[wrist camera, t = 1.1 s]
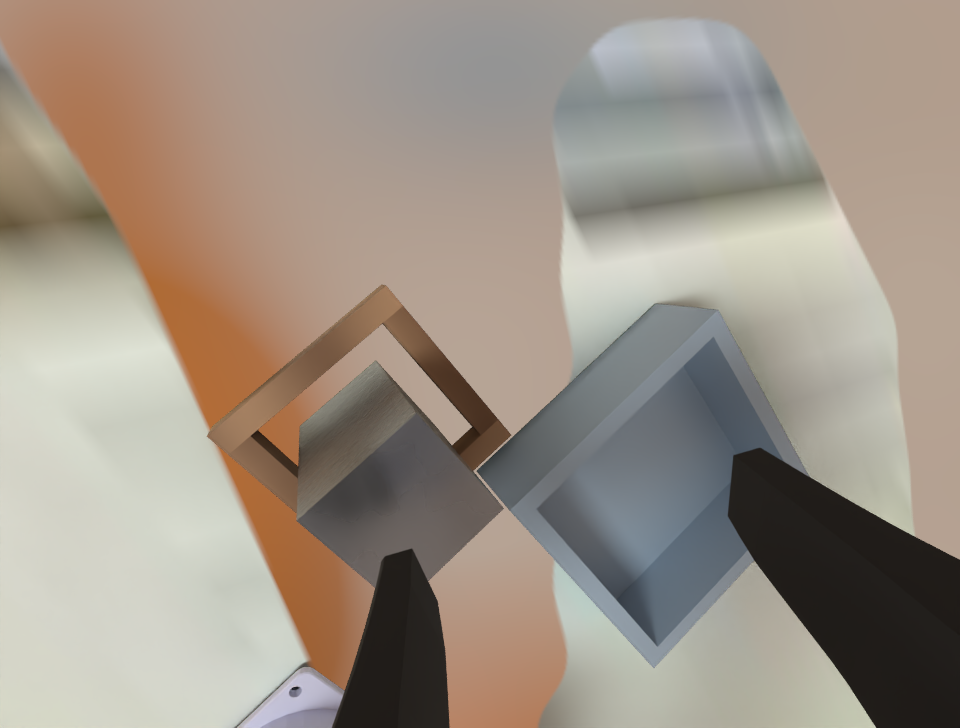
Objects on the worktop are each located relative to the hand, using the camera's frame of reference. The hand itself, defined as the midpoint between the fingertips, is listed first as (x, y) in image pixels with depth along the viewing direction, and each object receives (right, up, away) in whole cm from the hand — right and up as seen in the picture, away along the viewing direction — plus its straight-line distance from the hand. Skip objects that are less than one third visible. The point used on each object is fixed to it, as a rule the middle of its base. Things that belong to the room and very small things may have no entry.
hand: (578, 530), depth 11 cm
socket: (-7, +1, +10) cm, 12 cm away
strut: (-7, +1, +10) cm, 12 cm away
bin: (+6, -2, +15) cm, 16 cm away
